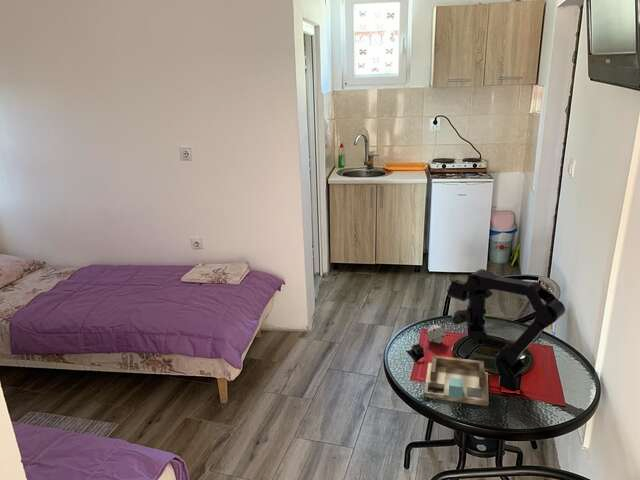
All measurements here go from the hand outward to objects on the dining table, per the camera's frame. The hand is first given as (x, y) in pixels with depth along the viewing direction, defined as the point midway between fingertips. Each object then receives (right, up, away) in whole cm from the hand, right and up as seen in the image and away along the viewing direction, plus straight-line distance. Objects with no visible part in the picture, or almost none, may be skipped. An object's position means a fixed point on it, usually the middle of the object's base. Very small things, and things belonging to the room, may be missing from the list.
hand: (474, 343), depth 179 cm
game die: (-8, -5, +24) cm, 26 cm away
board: (-7, -14, -3) cm, 16 cm away
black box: (-17, -9, +16) cm, 25 cm away
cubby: (-6, -11, 0) cm, 13 cm away
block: (-10, -15, -10) cm, 20 cm away
